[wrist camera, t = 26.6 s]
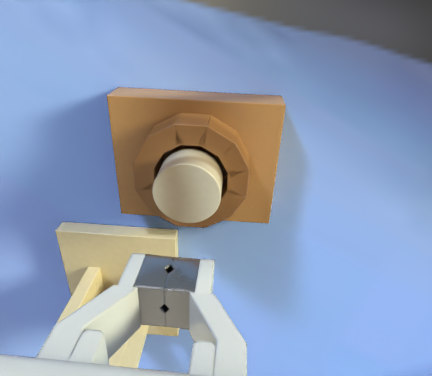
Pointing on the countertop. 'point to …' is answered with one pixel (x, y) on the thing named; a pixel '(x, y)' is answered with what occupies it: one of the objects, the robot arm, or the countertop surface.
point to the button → (188, 186)
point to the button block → (197, 146)
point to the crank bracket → (110, 269)
